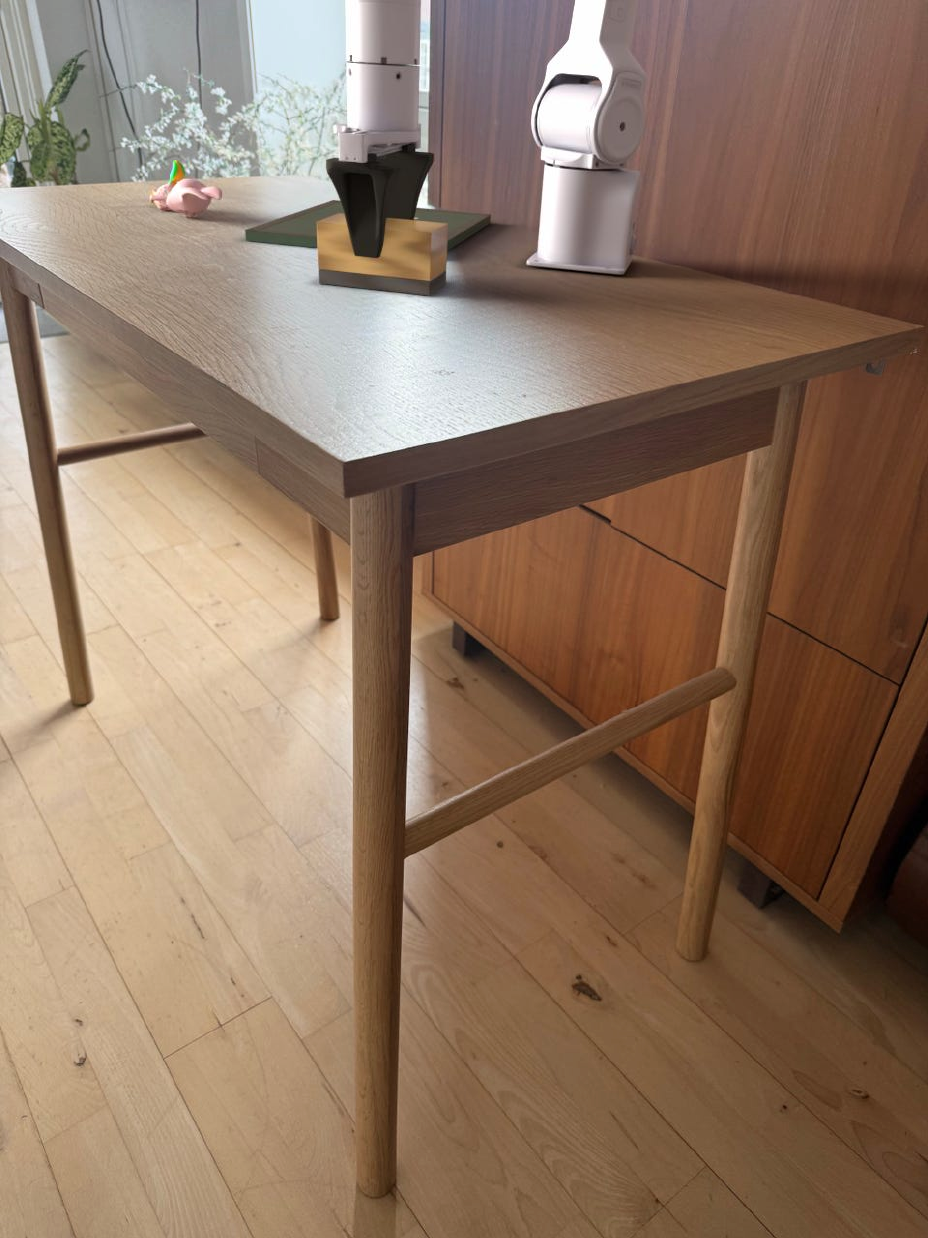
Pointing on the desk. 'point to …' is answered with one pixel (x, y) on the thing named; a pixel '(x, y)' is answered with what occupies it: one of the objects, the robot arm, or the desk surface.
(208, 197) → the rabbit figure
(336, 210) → the chalkboard
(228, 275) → the desk surface
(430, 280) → the eraser
